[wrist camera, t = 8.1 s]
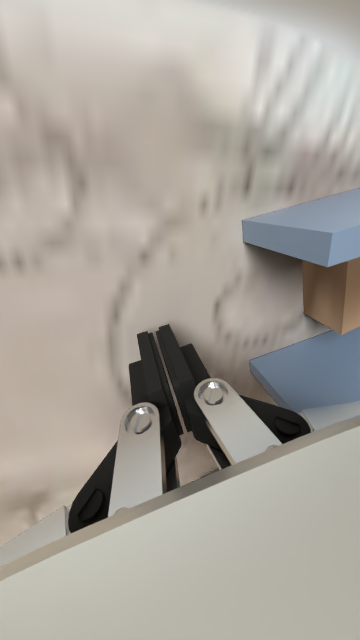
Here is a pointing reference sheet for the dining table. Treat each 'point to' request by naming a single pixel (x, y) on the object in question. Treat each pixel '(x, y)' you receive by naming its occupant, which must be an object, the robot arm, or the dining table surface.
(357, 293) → the cardboard shipping box
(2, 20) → the dining table surface
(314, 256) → the box
